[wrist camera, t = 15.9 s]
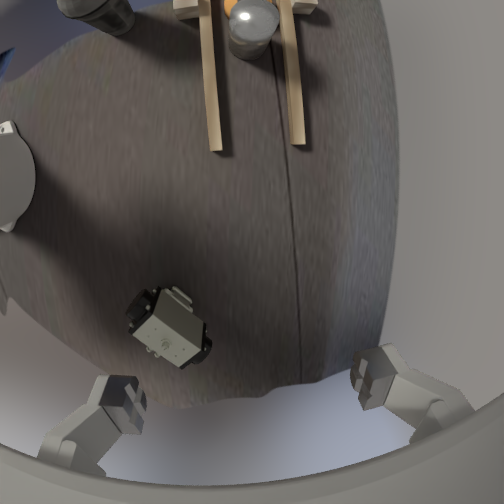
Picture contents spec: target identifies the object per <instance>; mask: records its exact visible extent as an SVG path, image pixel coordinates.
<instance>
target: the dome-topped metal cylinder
mask: <svg viewBox="0 0 504 504" xmlns="http://www.w3.org/2000/svg"><path fill="white" fill-rule="evenodd" d="M279 21H280V15H279V12H278V10H277V8H276V7H275V6H274V5H273V4H272V3H270V2H269V1H267V0H241V1H239V2H237V3H236V4H235V5H234V6H233V7H232V9H231V11H230V19H229V49H230V51H231V53H232V54H233V55H234V56H236V57H237V58H239V59H243V60H253V59H256V58H258V57H260V56H261V55H262V54H263V53H264V52H265V50H266V48H267V46H268V44H269V42H270V40H271V38H272V36H273V34H274V32H275V30H276V28H277V26H278V24H279Z"/></svg>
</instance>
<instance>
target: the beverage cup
mask: <svg viewBox="0 0 504 504" xmlns="http://www.w3.org/2000/svg"><path fill="white" fill-rule="evenodd" d="M57 4H58V7H59V9H60V10H61V11H62V13H63V14H64V15H65V16H66V17H67V18H71V19H76V20H80V21H83V22H86V23H87V24H89V25H91V26H93V27H95V28H97V29H99V30H101V31H103V32H105V33H108V34H110V35H113V36H118V35H122V34H124V33H126V32H127V31H129V30H130V29H131V28H132V26H133V25H134V22H135V15H134V13H133V10H132V8H131V6H130V4H129V2H128V0H57Z"/></svg>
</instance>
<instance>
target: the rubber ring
mask: <svg viewBox="0 0 504 504" xmlns="http://www.w3.org/2000/svg"><path fill="white" fill-rule="evenodd" d="M239 1H241V0H225V4H224V11H225V15H226V17H227V18H228V19H230V11H231V9H232V7H233V6H234V5H235V4H236V3H237V2H239ZM267 1H269V2H270V3H272V0H267Z"/></svg>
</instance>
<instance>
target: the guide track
mask: <svg viewBox="0 0 504 504" xmlns="http://www.w3.org/2000/svg"><path fill="white" fill-rule="evenodd" d="M276 2H277V9H278V12H279V15H280V21H279V25H280V33H281V41H282V50H283V60H284V69H285V80H286V91H287V102H288V115H289V128H290V142H291V144H305V128H304V114H303V102H302V90H301V79H300V69H299V60H298V51H297V43H296V35H295V27H294V19H293V13H294V14H309V15H310V13H311V12H312V11H313V10H314V8H315V7H316V6H317V5H318V1H317V0H276ZM173 8H174V12H175V14H176V16H177V19H178V20H183V19H189V18H196V17H199V19H200V35H201V51H202V64H203V77H204V90H205V102H206V113H207V124H208V134H209V144H210V151H217V150H222V139H221V128H220V117H219V106H218V95H217V83H216V71H215V58H214V45H213V31H212V17H211V2H210V0H173Z"/></svg>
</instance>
